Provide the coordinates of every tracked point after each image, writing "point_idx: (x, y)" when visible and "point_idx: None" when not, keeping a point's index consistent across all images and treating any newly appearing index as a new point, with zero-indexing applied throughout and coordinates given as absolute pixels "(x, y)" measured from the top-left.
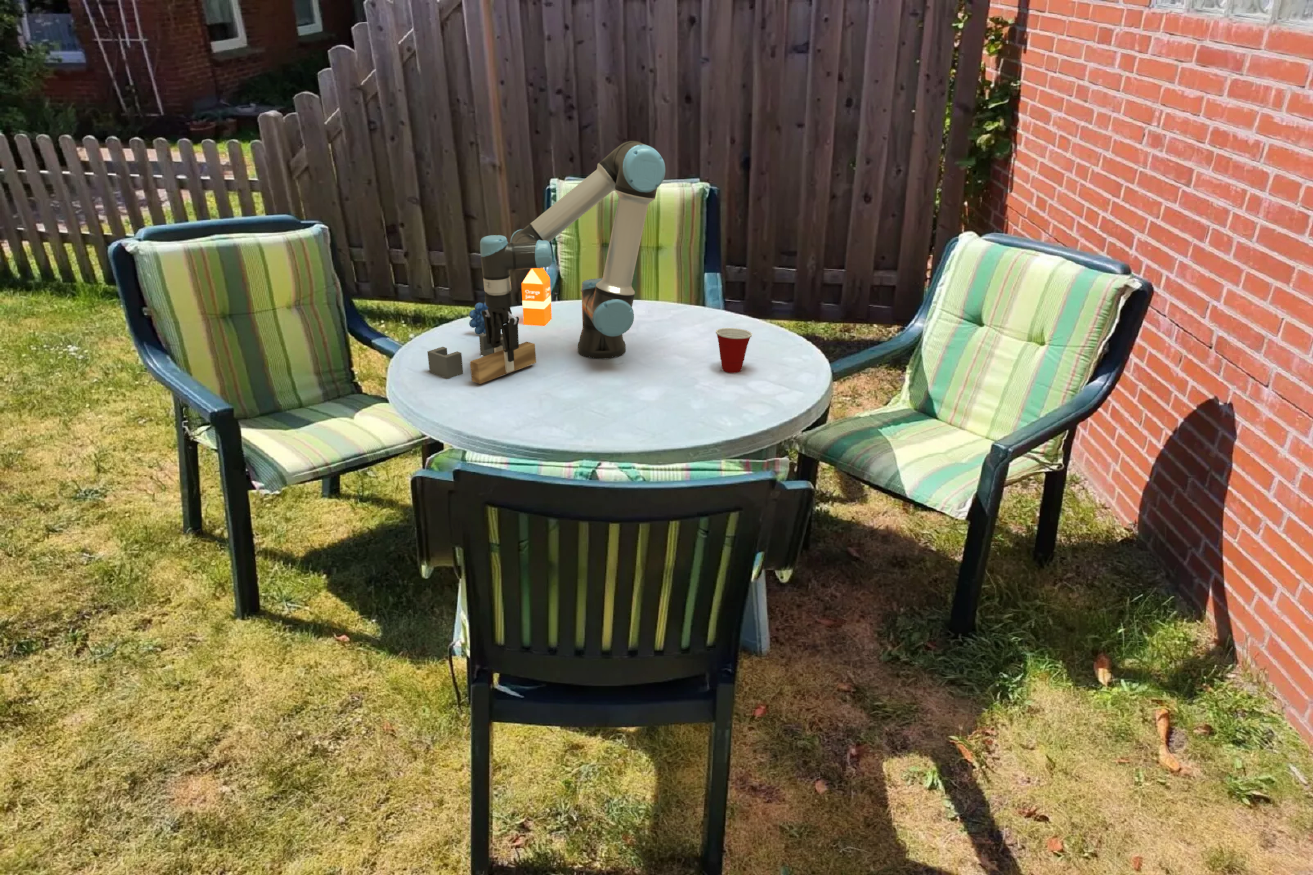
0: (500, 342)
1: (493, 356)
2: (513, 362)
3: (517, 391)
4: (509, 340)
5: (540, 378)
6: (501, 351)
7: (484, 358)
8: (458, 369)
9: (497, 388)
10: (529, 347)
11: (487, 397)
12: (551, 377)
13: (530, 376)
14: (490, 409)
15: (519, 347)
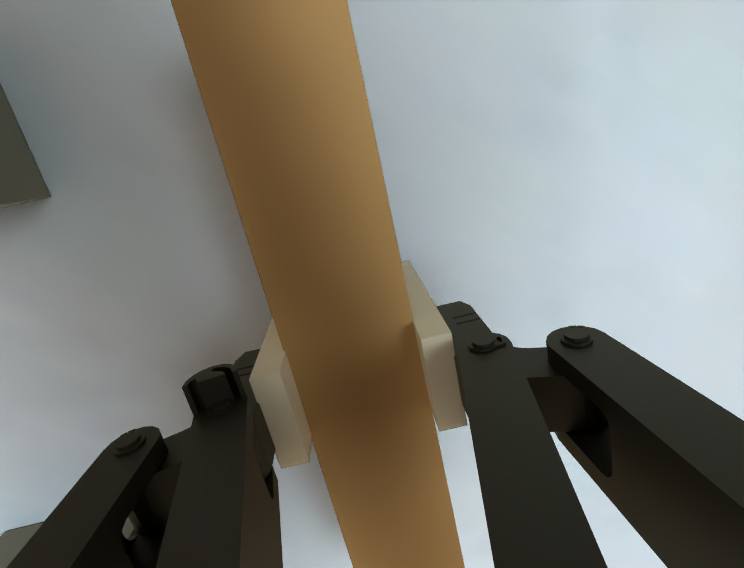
0: (200, 380)
1: (405, 495)
2: (419, 280)
3: None
4: (635, 523)
5: (573, 132)
6: (323, 384)
7: (399, 565)
8: None
9: None
10: (348, 15)
11: (589, 514)
12: (615, 49)
13: (492, 170)
14: None
15: (326, 159)
